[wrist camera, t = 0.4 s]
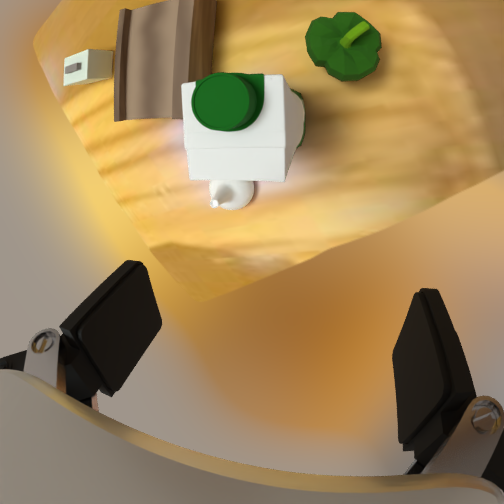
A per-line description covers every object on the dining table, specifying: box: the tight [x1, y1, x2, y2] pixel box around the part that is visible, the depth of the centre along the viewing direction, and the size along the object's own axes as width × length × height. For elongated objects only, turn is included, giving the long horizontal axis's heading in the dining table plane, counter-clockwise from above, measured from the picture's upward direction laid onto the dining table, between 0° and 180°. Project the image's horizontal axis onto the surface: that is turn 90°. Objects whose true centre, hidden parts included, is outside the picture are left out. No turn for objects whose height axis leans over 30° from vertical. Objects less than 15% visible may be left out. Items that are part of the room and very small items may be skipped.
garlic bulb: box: [209, 180, 254, 210], centre depth 37 cm, size 6×6×8 cm
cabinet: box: [64, 49, 113, 86], centre depth 31 cm, size 5×6×7 cm
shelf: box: [114, 0, 217, 122], centre depth 29 cm, size 13×18×7 cm
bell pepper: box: [305, 12, 382, 81], centre depth 23 cm, size 8×8×10 cm
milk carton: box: [181, 72, 305, 182], centre depth 25 cm, size 9×9×20 cm
